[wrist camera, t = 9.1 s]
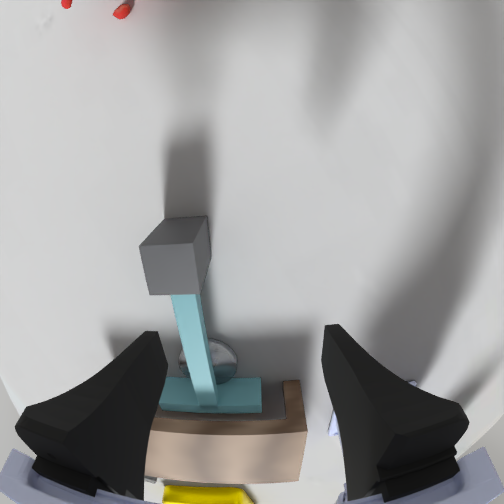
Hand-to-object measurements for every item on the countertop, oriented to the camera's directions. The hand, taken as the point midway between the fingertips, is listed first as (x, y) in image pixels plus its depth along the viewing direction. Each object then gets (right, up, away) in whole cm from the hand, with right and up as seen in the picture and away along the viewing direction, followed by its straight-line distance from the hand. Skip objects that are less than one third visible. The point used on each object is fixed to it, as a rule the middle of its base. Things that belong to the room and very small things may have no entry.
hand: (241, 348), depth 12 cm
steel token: (-3, -5, +12) cm, 14 cm away
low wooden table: (-4, -14, +16) cm, 21 cm away
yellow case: (-7, -43, +29) cm, 52 cm away
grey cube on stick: (-4, -1, +11) cm, 11 cm away
